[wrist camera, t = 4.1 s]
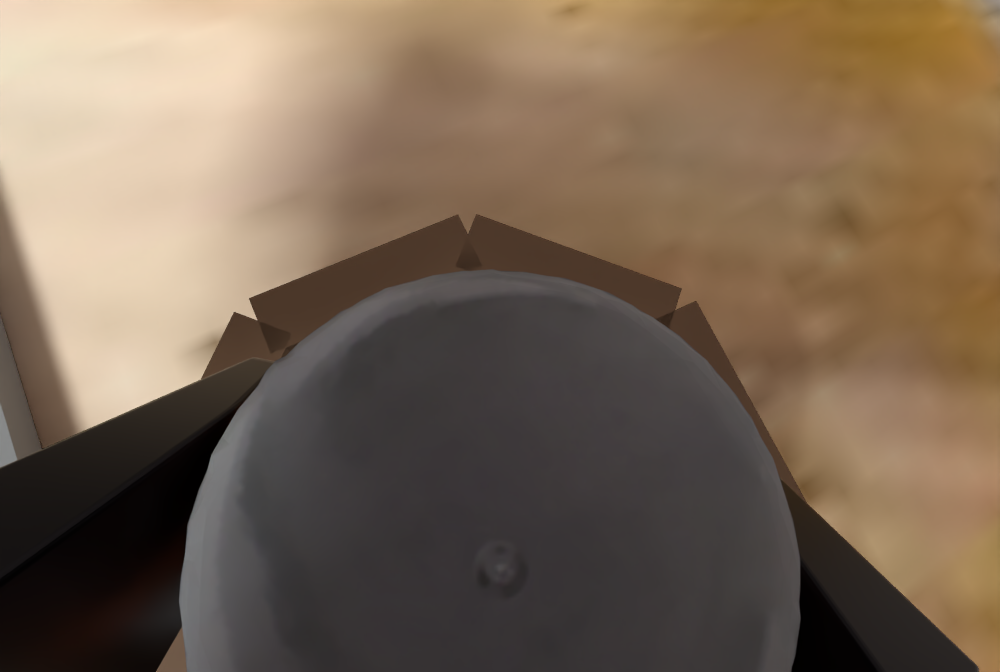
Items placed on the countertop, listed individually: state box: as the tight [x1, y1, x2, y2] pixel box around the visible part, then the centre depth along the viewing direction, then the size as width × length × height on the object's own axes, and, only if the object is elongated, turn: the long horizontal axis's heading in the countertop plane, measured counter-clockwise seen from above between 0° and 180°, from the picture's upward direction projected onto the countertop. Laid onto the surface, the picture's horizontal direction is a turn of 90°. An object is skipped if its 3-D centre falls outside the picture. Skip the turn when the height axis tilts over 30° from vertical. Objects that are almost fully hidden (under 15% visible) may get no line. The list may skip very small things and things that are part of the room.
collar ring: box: [157, 214, 807, 672], centre depth 14 cm, size 12×12×3 cm
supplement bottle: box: [179, 269, 801, 672], centre depth 10 cm, size 6×6×11 cm
